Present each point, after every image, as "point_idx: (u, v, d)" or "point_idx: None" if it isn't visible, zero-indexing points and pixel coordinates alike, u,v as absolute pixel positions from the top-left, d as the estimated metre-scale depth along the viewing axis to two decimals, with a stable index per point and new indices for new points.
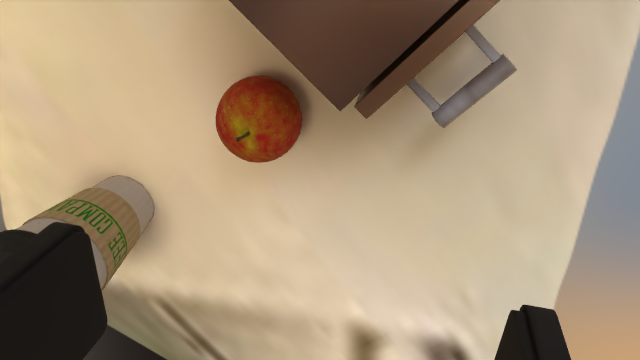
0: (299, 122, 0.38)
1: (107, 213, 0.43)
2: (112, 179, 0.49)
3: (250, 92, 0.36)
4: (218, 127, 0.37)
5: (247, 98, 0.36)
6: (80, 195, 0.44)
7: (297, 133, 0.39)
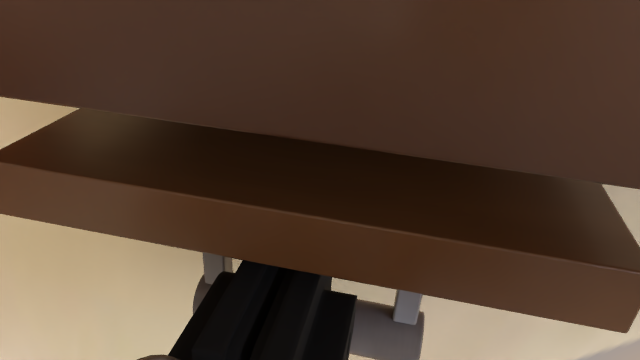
0: None
1: None
2: None
3: None
4: None
5: None
6: None
7: None
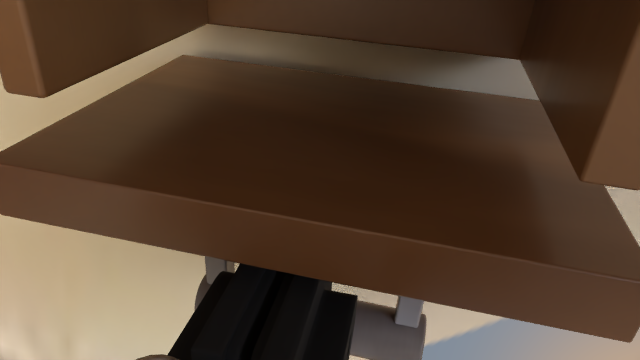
0: None
1: None
2: None
3: None
4: None
5: None
6: None
7: None
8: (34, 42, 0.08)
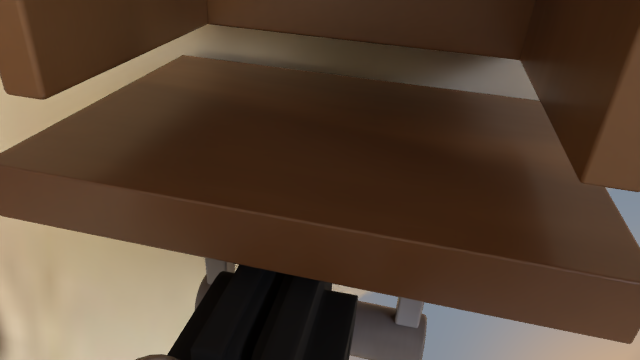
0: None
1: None
2: None
3: None
4: None
5: None
6: None
7: None
8: (33, 44, 0.08)
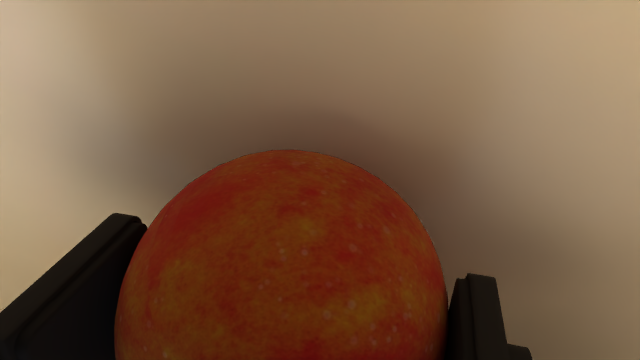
0: None
1: None
2: None
3: None
4: None
5: None
6: None
7: None
8: None
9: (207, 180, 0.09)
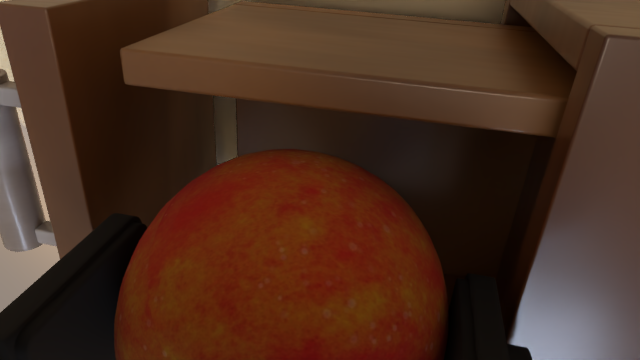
0: None
1: None
2: None
3: None
4: None
5: None
6: None
7: None
8: (165, 89, 0.10)
9: (207, 179, 0.09)
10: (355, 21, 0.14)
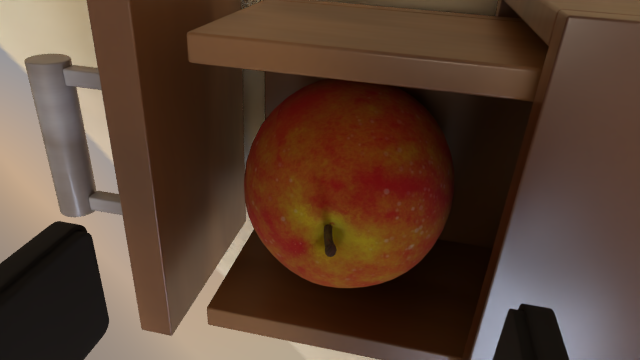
0: None
1: None
2: None
3: (390, 279, 0.15)
4: (406, 183, 0.13)
5: (386, 279, 0.15)
6: None
7: None
8: (222, 66, 0.12)
9: (304, 90, 0.15)
10: (373, 13, 0.16)
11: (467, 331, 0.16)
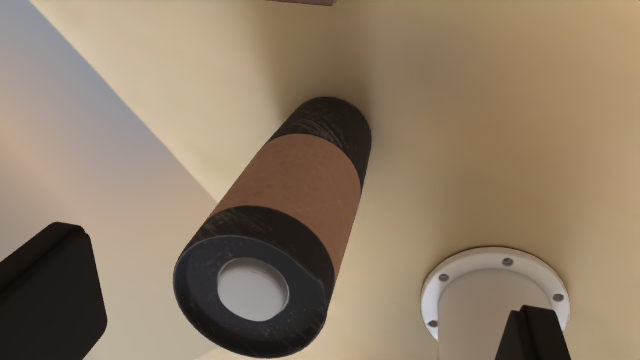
0: None
1: None
2: None
3: None
4: None
5: None
6: None
7: None
8: None
9: None
10: None
11: None
